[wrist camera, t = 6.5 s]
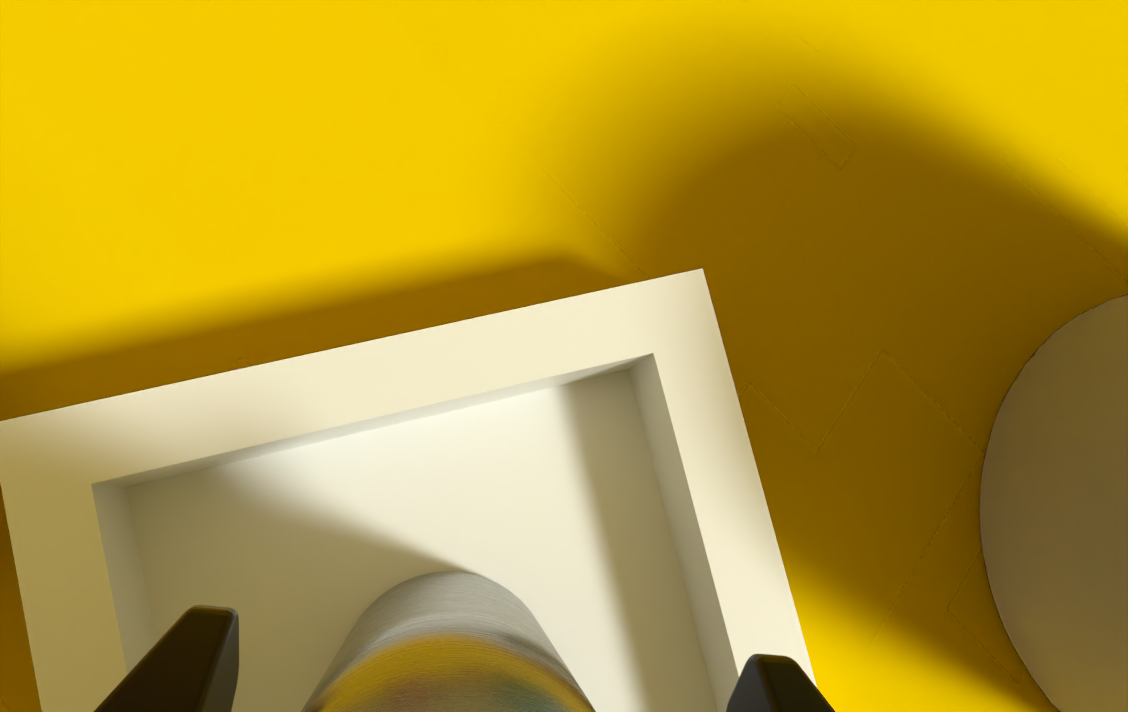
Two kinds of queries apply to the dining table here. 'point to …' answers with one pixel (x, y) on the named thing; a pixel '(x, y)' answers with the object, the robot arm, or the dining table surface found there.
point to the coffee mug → (1065, 512)
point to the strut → (447, 654)
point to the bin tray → (417, 503)
